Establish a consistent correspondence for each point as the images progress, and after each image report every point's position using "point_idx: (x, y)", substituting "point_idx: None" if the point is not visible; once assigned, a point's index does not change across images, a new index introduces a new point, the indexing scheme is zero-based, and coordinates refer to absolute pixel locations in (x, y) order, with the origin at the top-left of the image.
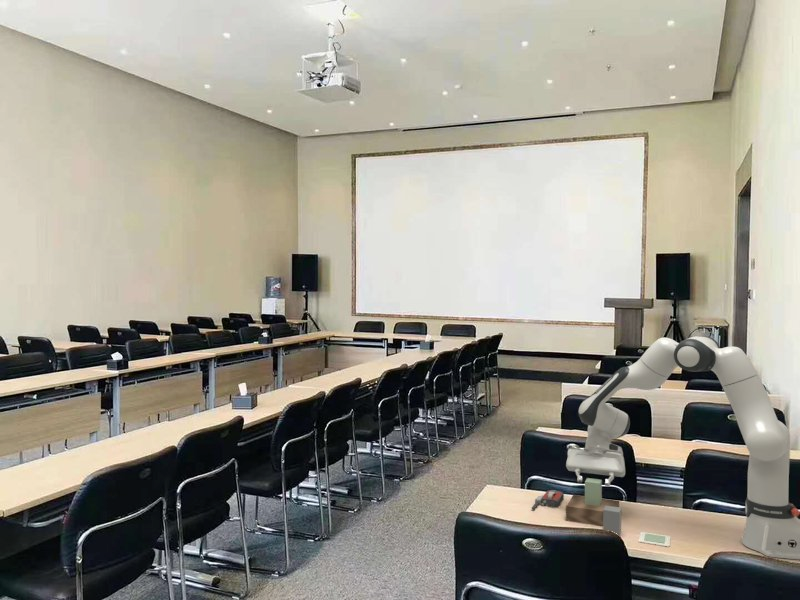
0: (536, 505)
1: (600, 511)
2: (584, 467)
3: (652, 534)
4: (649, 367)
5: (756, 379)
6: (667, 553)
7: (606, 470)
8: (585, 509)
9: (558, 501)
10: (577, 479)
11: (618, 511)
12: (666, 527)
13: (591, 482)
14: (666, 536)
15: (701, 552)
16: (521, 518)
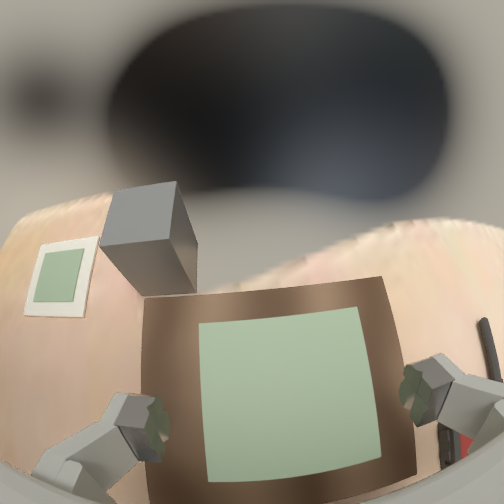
0: (489, 353)
1: (210, 295)
2: (485, 449)
3: (57, 301)
4: None
5: None
6: (56, 211)
7: (92, 501)
8: (287, 288)
9: (451, 429)
10: (440, 354)
11: (116, 197)
12: (26, 397)
13: (289, 318)
14: (31, 308)
15: (3, 253)
16: (458, 242)
